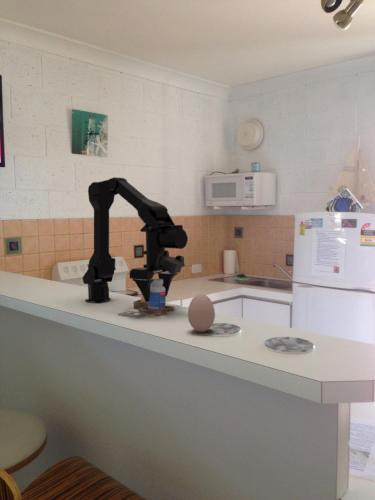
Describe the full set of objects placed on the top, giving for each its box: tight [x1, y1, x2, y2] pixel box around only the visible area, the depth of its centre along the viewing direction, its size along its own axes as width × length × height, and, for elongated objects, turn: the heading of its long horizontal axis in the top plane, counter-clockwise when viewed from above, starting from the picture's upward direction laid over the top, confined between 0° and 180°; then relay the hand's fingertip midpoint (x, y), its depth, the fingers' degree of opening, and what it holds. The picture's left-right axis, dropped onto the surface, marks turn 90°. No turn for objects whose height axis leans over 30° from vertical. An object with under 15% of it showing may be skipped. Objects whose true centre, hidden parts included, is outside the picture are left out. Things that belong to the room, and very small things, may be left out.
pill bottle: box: [148, 278, 167, 311], centre depth 139 cm, size 6×5×10 cm
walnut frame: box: [133, 299, 148, 310], centre depth 145 cm, size 6×6×2 cm
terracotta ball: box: [139, 295, 148, 303], centre depth 145 cm, size 4×4×4 cm
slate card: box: [118, 310, 148, 318], centre depth 136 cm, size 7×5×1 cm
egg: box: [187, 293, 216, 333], centre depth 116 cm, size 7×7×10 cm
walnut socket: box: [138, 305, 175, 317], centre depth 140 cm, size 8×8×1 cm
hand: (156, 298), depth 139 cm, fingers open, 9 cm apart
